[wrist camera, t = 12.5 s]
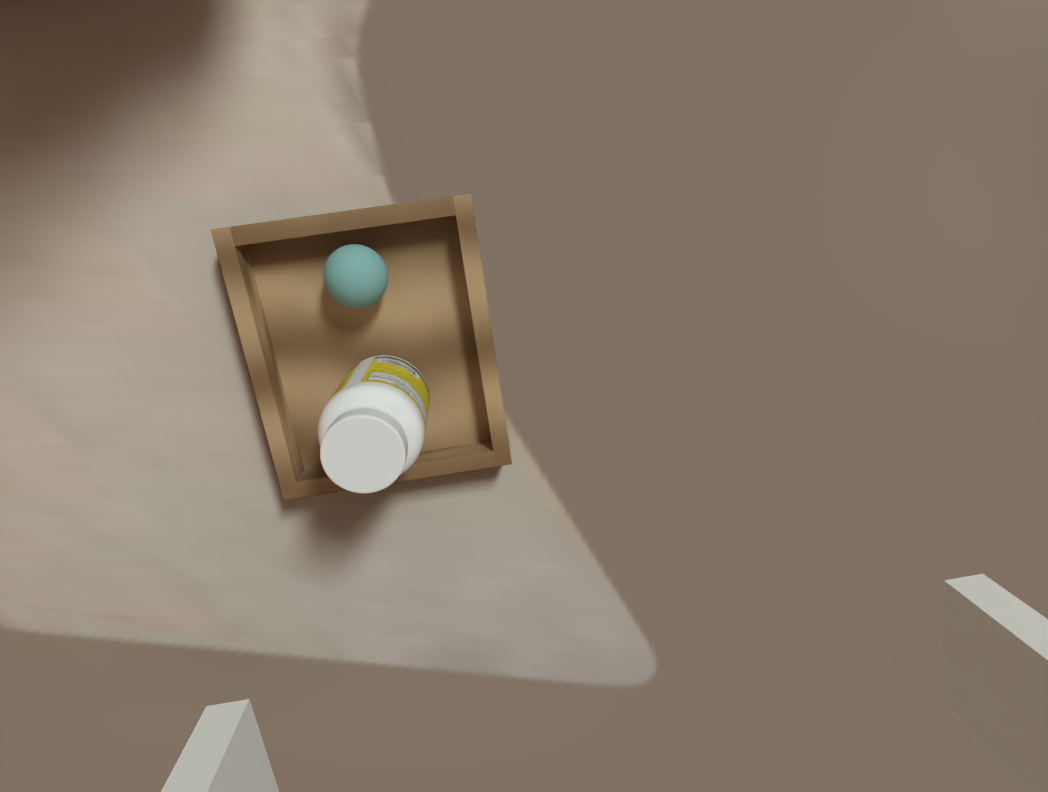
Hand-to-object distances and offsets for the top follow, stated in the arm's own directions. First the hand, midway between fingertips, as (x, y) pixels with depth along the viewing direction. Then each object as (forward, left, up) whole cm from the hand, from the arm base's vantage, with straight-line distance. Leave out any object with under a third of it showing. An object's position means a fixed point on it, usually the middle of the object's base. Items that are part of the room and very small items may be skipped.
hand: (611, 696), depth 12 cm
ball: (-7, -8, -28) cm, 30 cm away
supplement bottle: (+1, -8, -28) cm, 29 cm away
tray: (-2, -8, -29) cm, 30 cm away
